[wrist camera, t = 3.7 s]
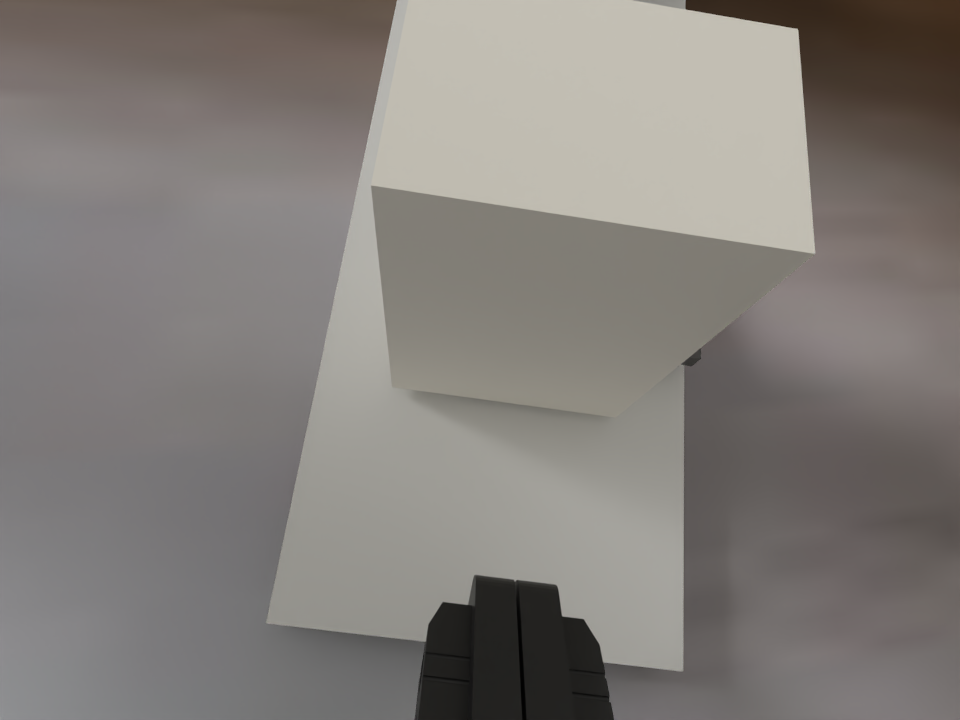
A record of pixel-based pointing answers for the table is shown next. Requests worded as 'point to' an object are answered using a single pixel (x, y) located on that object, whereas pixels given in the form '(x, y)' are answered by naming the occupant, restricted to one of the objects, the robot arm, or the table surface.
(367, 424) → the base
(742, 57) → the block
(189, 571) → the table surface
